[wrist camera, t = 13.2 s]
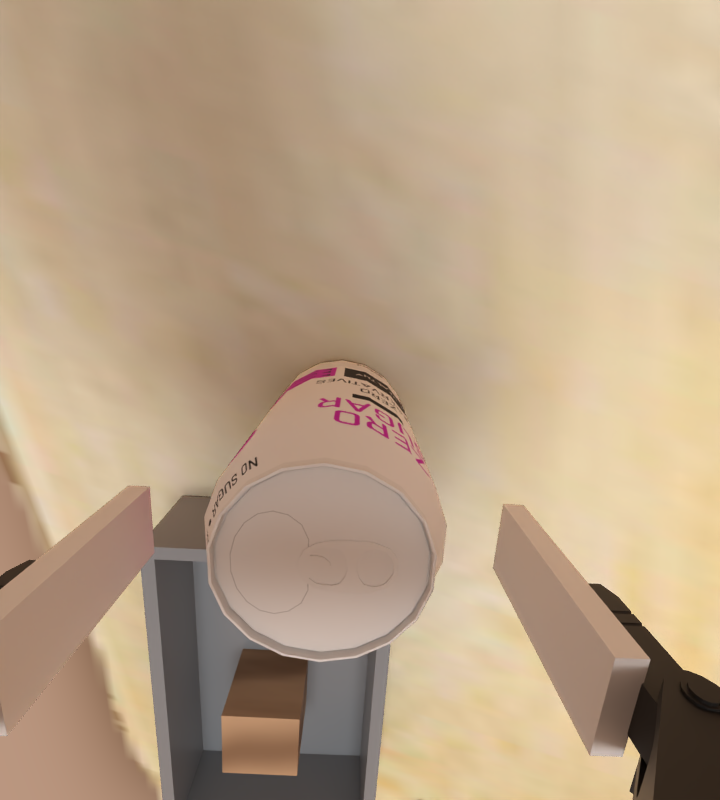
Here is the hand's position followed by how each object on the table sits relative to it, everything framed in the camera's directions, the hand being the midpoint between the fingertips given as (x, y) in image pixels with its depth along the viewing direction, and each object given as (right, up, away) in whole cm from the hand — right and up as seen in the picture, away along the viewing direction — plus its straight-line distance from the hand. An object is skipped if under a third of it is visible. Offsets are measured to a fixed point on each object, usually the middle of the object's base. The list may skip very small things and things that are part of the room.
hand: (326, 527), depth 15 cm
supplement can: (0, +4, +12) cm, 12 cm away
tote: (-5, -14, +16) cm, 22 cm away
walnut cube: (-5, -17, +16) cm, 24 cm away
